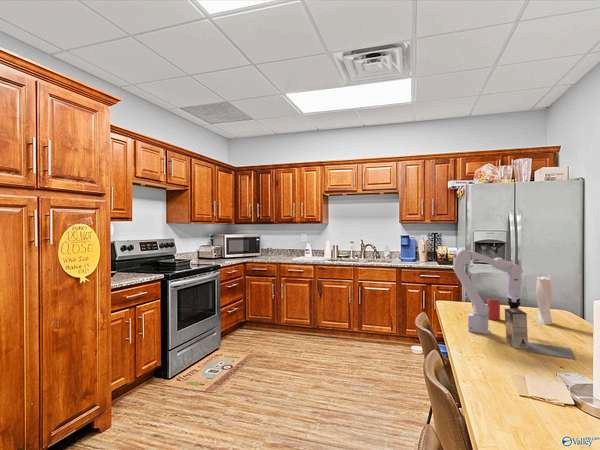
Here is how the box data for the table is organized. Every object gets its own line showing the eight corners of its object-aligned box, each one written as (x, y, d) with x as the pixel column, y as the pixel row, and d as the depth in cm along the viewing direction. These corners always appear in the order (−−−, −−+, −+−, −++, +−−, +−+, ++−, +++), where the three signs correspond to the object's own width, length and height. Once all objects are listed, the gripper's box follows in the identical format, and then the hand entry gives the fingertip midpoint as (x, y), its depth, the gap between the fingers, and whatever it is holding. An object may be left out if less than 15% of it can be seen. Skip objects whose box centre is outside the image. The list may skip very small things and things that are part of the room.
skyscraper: (557, 325, 191) (557, 274, 191) (546, 326, 189) (546, 275, 189) (542, 320, 199) (542, 272, 199) (532, 322, 197) (531, 273, 197)
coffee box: (505, 341, 164) (503, 308, 164) (520, 342, 163) (518, 308, 163) (513, 348, 155) (511, 313, 155) (529, 348, 154) (527, 313, 154)
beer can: (498, 318, 205) (498, 297, 205) (501, 321, 199) (501, 300, 199) (486, 317, 207) (486, 297, 207) (488, 320, 201) (488, 299, 201)
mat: (526, 351, 151) (526, 351, 151) (525, 342, 163) (525, 341, 163) (576, 359, 142) (576, 359, 142) (570, 349, 154) (570, 348, 154)
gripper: (523, 290, 168) (523, 318, 168) (522, 285, 180) (522, 311, 180) (506, 288, 171) (506, 315, 171) (507, 284, 184) (507, 309, 184)
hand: (513, 313), depth 176 cm, fingers open, 7 cm apart
